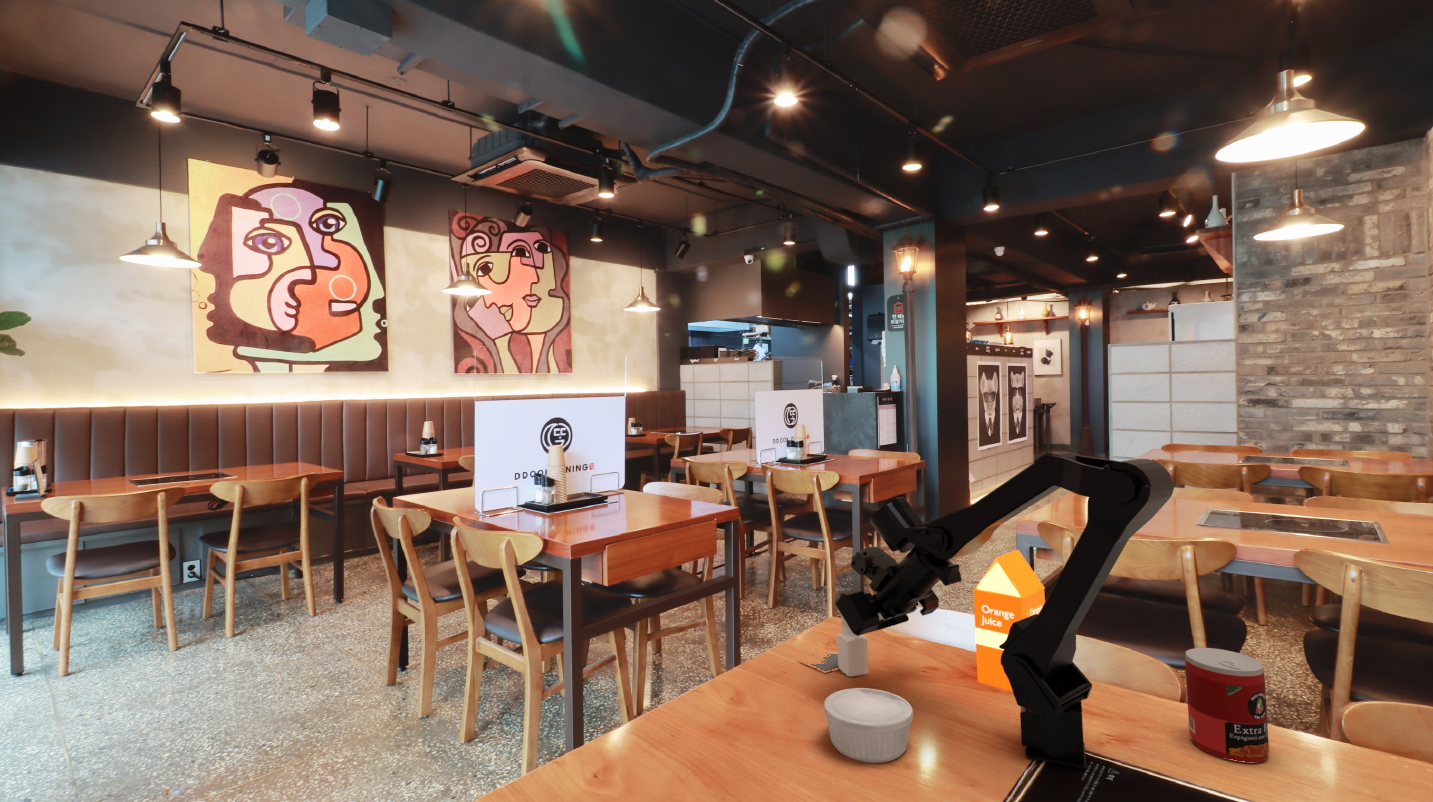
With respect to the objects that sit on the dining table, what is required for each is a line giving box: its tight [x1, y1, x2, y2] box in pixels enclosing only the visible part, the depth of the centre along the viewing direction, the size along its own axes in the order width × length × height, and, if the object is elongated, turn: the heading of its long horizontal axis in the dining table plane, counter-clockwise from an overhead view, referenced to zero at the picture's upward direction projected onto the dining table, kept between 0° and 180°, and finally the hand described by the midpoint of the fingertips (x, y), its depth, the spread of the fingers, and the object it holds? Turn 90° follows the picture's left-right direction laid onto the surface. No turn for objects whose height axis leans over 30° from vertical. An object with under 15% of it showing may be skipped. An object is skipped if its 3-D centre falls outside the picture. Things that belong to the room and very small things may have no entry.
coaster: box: [811, 654, 838, 671], centre depth 112 cm, size 7×8×1 cm
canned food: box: [1184, 647, 1270, 763], centre depth 80 cm, size 8×8×11 cm
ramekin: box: [823, 687, 914, 764], centre depth 83 cm, size 11×11×5 cm
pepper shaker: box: [836, 614, 869, 678], centre depth 107 cm, size 4×4×10 cm
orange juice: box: [973, 549, 1046, 693], centre depth 102 cm, size 8×9×20 cm
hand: (861, 631), depth 105 cm, fingers closed
